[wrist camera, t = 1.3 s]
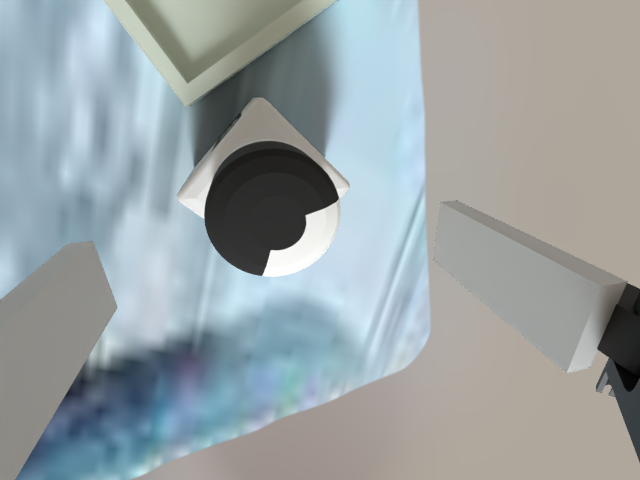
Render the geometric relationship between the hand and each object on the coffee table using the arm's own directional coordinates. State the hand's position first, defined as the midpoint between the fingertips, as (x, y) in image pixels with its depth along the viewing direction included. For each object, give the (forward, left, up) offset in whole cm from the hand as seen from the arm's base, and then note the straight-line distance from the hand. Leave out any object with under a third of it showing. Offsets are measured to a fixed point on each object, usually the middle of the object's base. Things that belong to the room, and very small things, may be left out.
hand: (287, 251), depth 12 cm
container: (0, 0, -16) cm, 16 cm away
